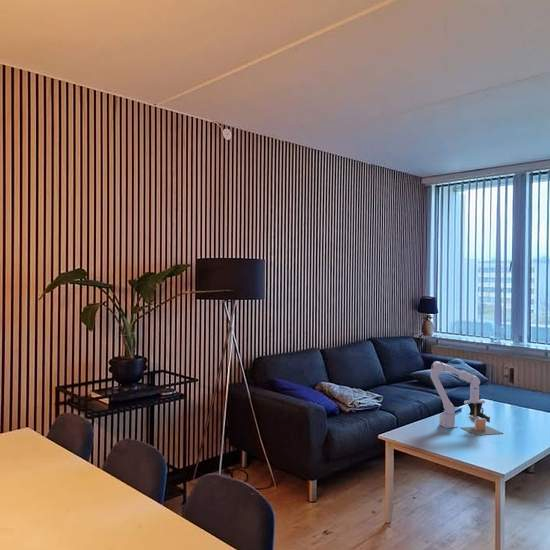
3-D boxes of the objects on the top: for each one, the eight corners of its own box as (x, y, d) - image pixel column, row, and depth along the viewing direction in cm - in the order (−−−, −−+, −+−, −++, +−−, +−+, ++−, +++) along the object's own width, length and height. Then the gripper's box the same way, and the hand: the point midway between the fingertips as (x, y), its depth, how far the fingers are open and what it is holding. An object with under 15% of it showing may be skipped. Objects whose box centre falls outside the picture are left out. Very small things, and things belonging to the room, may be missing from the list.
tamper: (473, 419, 324) (473, 404, 324) (470, 417, 328) (470, 403, 328) (478, 418, 325) (478, 404, 325) (475, 417, 329) (475, 403, 329)
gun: (492, 402, 339) (473, 393, 351) (486, 424, 342) (468, 414, 354) (494, 402, 340) (476, 392, 352) (488, 423, 344) (470, 413, 356)
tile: (476, 430, 319) (476, 419, 319) (474, 429, 321) (474, 419, 321) (485, 429, 321) (485, 419, 321) (484, 428, 322) (484, 418, 322)
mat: (475, 435, 309) (475, 435, 309) (460, 428, 325) (460, 427, 325) (503, 433, 314) (503, 433, 314) (487, 426, 329) (487, 425, 329)
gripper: (468, 395, 321) (468, 416, 321) (487, 394, 325) (487, 415, 324) (462, 393, 328) (462, 413, 328) (481, 392, 331) (481, 412, 331)
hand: (474, 414), depth 327 cm, fingers closed on tamper, 2 cm apart
